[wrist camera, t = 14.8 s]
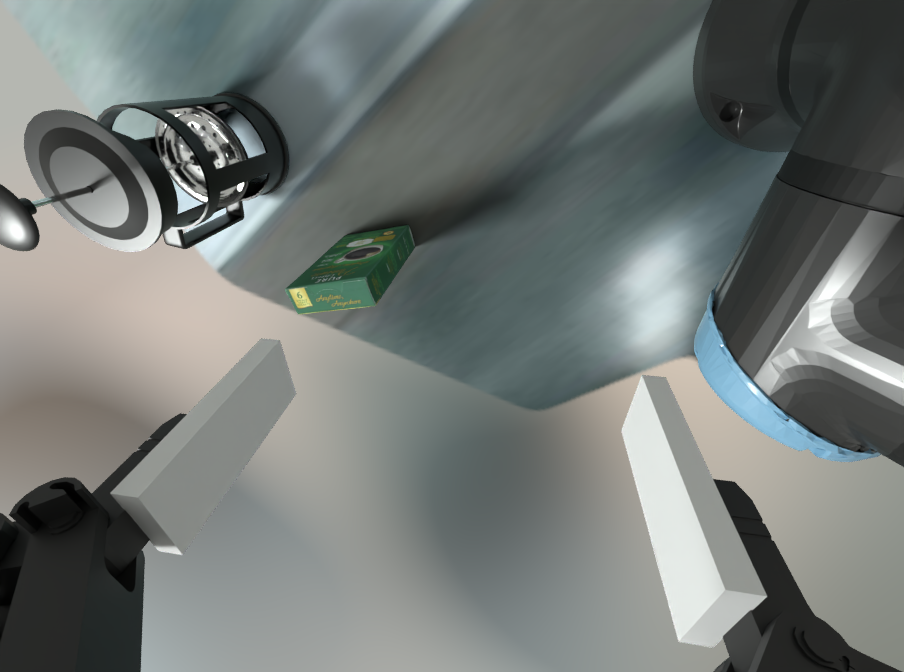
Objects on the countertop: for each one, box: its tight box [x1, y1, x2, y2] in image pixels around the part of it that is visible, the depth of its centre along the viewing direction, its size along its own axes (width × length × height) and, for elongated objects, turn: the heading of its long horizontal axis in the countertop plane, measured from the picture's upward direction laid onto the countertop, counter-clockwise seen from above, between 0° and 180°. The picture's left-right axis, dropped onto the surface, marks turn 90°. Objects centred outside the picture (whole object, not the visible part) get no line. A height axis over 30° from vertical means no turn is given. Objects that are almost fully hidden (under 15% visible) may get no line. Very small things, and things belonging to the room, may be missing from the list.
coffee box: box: [285, 225, 415, 314], centre depth 37 cm, size 8×3×13 cm, turn 103°
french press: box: [0, 92, 289, 252], centre depth 30 cm, size 12×9×23 cm
